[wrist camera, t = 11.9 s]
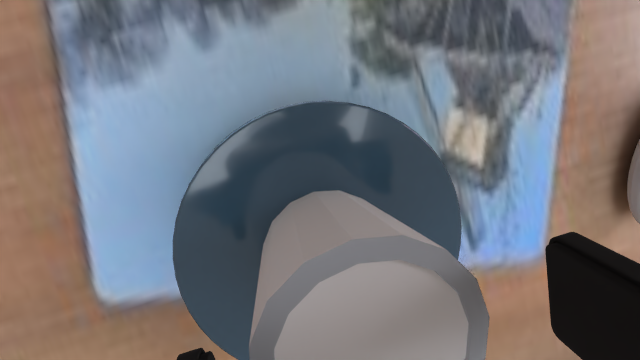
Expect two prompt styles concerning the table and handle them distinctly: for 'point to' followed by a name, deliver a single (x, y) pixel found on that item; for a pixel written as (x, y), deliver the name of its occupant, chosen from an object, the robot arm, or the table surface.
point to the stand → (289, 185)
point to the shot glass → (361, 289)
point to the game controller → (634, 184)
